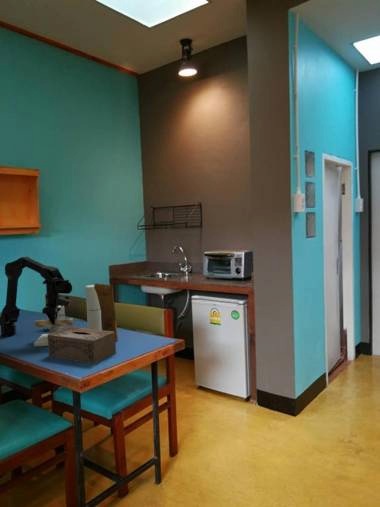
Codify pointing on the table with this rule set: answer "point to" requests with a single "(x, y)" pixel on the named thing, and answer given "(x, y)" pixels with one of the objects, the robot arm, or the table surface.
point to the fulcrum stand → (46, 337)
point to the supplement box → (59, 315)
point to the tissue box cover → (82, 344)
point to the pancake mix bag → (107, 307)
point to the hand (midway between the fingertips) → (54, 323)
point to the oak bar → (57, 323)
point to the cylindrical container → (93, 309)
